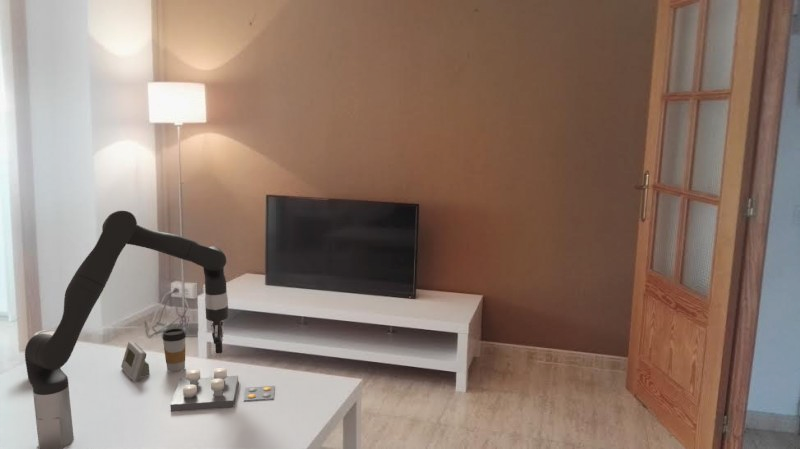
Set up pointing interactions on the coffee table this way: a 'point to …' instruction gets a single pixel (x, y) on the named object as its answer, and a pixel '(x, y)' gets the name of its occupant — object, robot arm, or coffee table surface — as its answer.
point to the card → (259, 393)
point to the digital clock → (135, 362)
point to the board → (205, 395)
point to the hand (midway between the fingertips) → (219, 352)
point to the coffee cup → (174, 349)
